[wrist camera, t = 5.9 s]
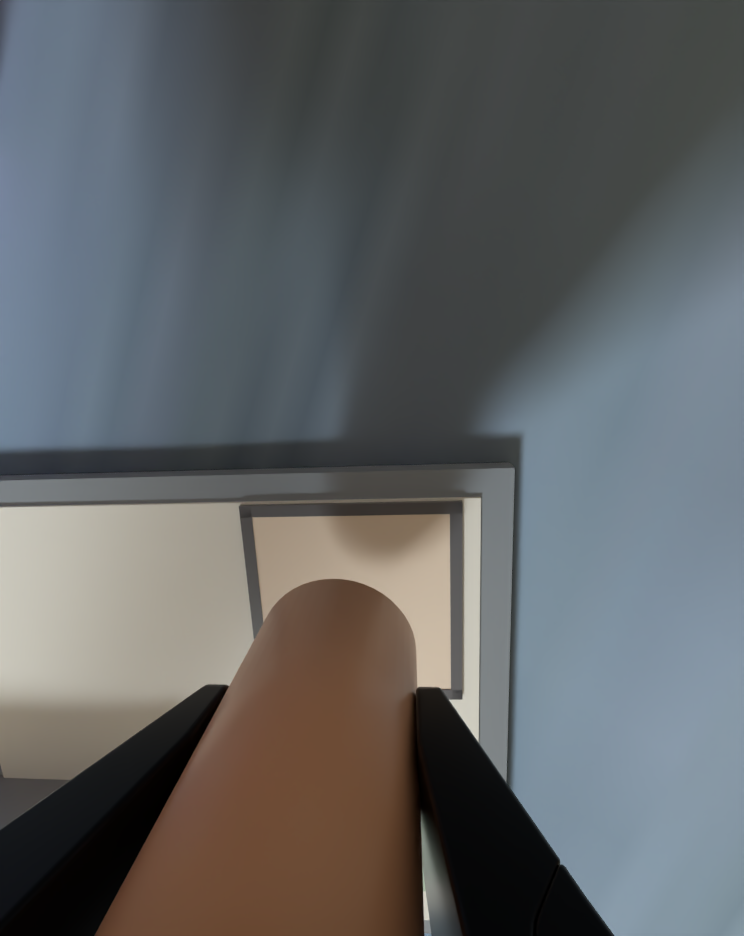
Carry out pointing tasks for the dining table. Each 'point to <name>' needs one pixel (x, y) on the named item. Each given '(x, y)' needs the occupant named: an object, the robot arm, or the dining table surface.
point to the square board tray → (231, 593)
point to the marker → (296, 787)
